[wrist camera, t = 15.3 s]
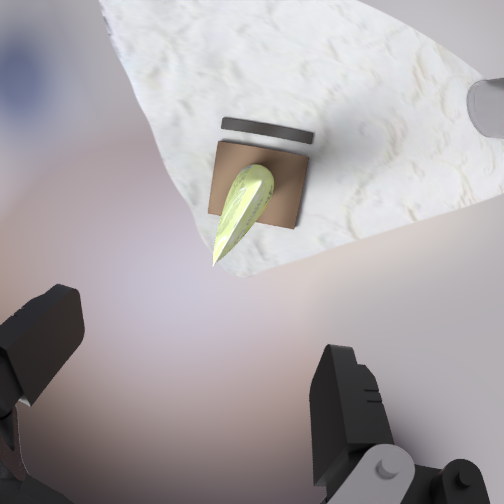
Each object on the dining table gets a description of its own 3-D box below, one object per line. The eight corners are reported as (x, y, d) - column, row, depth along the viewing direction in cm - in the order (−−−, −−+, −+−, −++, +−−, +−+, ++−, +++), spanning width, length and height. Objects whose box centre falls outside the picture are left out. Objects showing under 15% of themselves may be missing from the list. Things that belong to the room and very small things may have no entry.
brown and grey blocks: (312, 133, 38) (313, 133, 37) (293, 227, 42) (293, 229, 42) (223, 117, 38) (222, 117, 37) (208, 212, 43) (207, 213, 42)
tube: (278, 201, 40) (278, 257, 22) (241, 208, 41) (211, 267, 23) (270, 160, 39) (262, 180, 20) (232, 167, 39) (192, 195, 21)
